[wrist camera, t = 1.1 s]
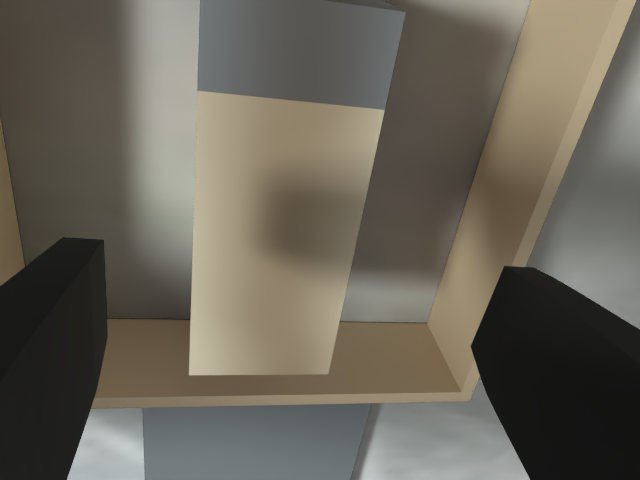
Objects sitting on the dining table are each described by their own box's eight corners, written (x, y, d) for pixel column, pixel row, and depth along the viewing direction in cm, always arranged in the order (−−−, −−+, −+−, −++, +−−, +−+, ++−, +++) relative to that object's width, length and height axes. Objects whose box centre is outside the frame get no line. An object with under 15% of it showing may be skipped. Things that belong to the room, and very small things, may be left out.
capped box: (197, 257, 20) (188, 375, 15) (208, -42, 15) (200, -18, 10) (302, 261, 21) (328, 374, 16) (346, -20, 16) (405, 12, 10)
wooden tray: (-53, 326, 20) (-111, 412, 16) (-223, -296, 11) (-418, -388, 8) (485, 332, 24) (527, 400, 21) (659, -105, 16) (778, -109, 12)
